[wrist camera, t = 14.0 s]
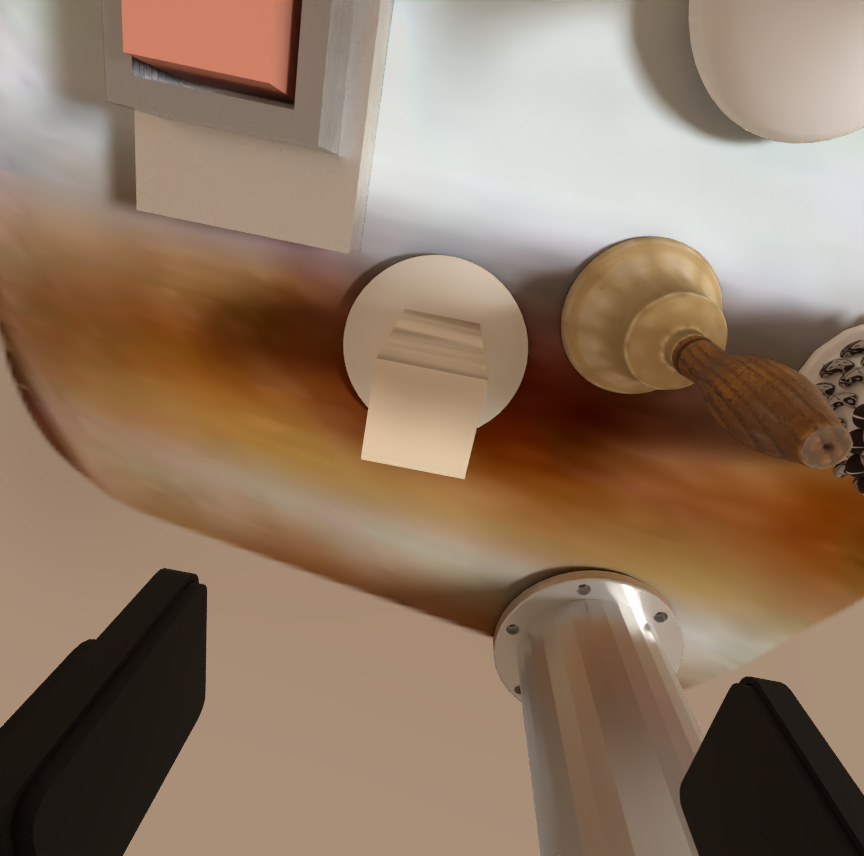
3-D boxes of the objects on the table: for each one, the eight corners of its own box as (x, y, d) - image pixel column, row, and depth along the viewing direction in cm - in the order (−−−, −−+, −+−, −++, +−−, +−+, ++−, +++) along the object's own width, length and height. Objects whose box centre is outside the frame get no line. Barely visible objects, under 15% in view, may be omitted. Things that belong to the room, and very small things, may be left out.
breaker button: (305, 107, 22) (269, 83, 18) (186, 81, 22) (123, 52, 18) (317, -43, 20) (280, -108, 16) (187, -72, 20) (116, -144, 16)
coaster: (534, 420, 30) (535, 425, 30) (366, 441, 31) (364, 447, 31) (517, 239, 27) (518, 240, 26) (327, 270, 28) (324, 272, 27)
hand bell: (678, 409, 30) (892, 604, 15) (539, 371, 29) (616, 534, 15) (749, 261, 26) (1109, 324, 12) (594, 217, 26) (764, 224, 11)
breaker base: (360, 249, 27) (331, 260, 21) (170, 210, 27) (86, 210, 21) (415, -162, 21) (395, -311, 15) (168, -218, 21) (49, -391, 15)
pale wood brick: (463, 394, 29) (464, 479, 20) (393, 380, 29) (360, 459, 20) (479, 323, 28) (488, 380, 18) (405, 308, 27) (375, 358, 18)
